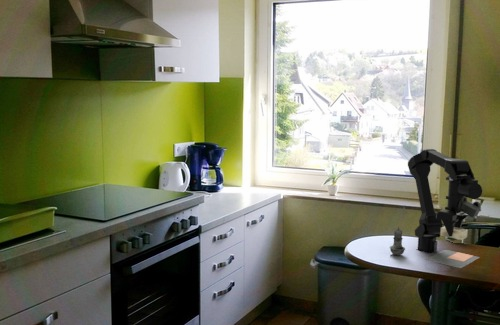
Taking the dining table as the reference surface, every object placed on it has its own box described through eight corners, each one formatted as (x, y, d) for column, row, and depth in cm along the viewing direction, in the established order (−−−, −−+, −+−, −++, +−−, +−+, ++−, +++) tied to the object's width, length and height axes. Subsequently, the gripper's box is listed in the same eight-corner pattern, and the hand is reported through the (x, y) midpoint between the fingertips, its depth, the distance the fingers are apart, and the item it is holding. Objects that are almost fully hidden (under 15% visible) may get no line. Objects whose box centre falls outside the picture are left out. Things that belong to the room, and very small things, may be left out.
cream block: (440, 235, 196) (440, 227, 196) (446, 233, 200) (446, 225, 200) (461, 239, 191) (461, 231, 190) (467, 237, 194) (467, 229, 194)
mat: (424, 260, 200) (424, 259, 200) (444, 250, 213) (444, 249, 213) (460, 269, 191) (460, 268, 191) (479, 258, 204) (479, 257, 204)
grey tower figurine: (391, 253, 209) (392, 224, 208) (406, 255, 206) (407, 226, 205) (387, 257, 204) (388, 227, 203) (402, 260, 201) (404, 229, 200)
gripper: (467, 200, 181) (464, 244, 183) (488, 193, 194) (485, 234, 196) (436, 195, 189) (433, 237, 191) (459, 189, 202) (456, 228, 204)
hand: (453, 234), depth 195 cm, fingers closed on cream block, 5 cm apart
